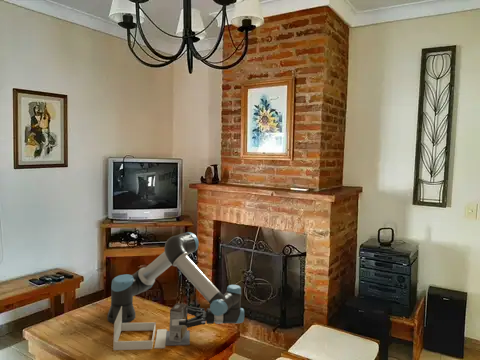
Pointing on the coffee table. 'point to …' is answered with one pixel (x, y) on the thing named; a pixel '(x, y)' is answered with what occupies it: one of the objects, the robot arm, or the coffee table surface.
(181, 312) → the coffee box
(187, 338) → the mat
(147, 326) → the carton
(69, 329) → the coffee table surface
